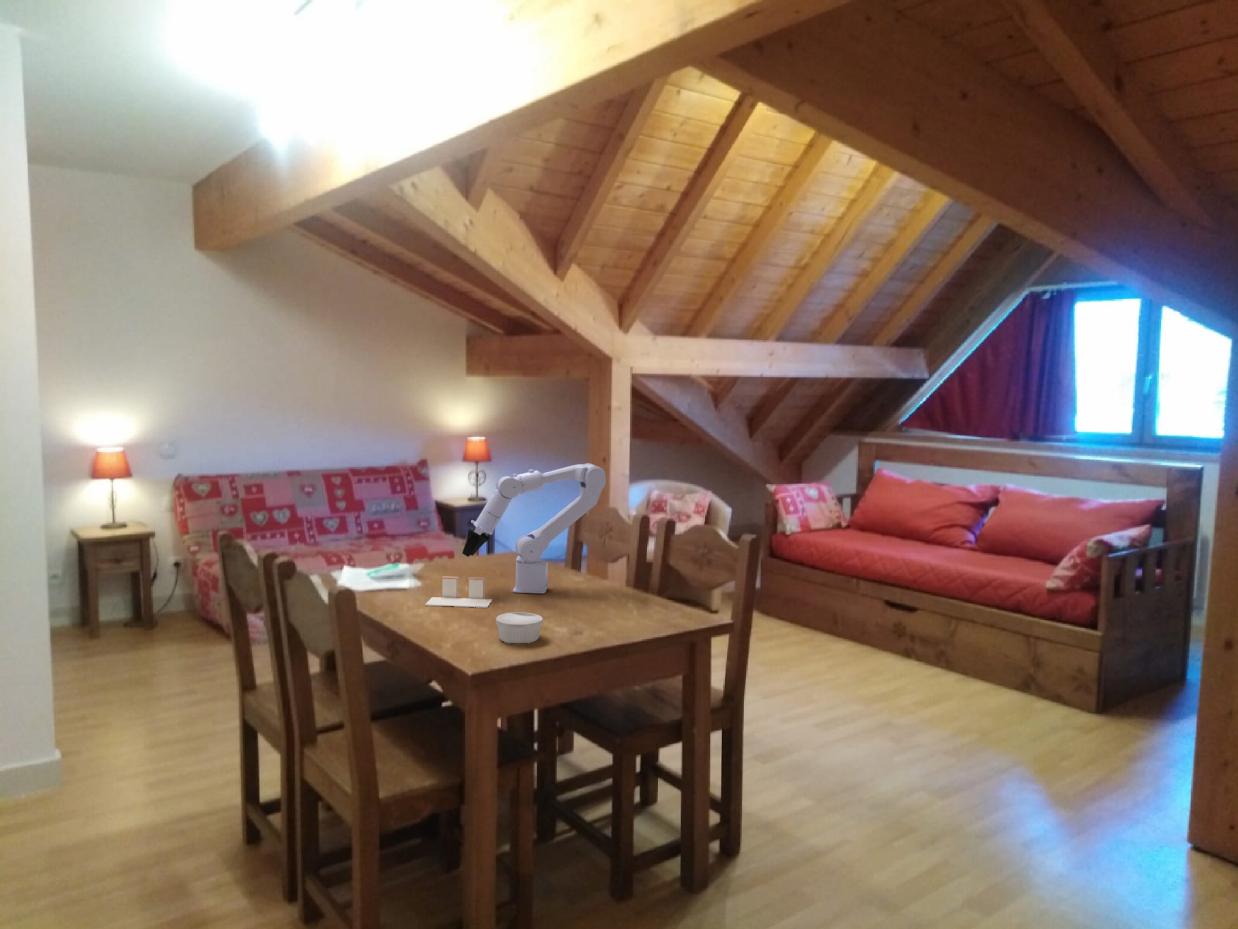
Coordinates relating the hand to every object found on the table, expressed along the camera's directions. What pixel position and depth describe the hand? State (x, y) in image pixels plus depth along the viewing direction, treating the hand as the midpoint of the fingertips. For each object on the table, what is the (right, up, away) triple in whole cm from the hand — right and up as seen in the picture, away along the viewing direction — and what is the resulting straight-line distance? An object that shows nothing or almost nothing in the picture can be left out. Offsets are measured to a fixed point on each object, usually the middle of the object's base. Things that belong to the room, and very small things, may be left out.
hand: (467, 554), depth 256 cm
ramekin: (+20, -16, -42) cm, 49 cm away
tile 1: (-4, -12, -5) cm, 13 cm away
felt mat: (0, -12, -11) cm, 16 cm away
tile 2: (+4, -12, -5) cm, 14 cm away
